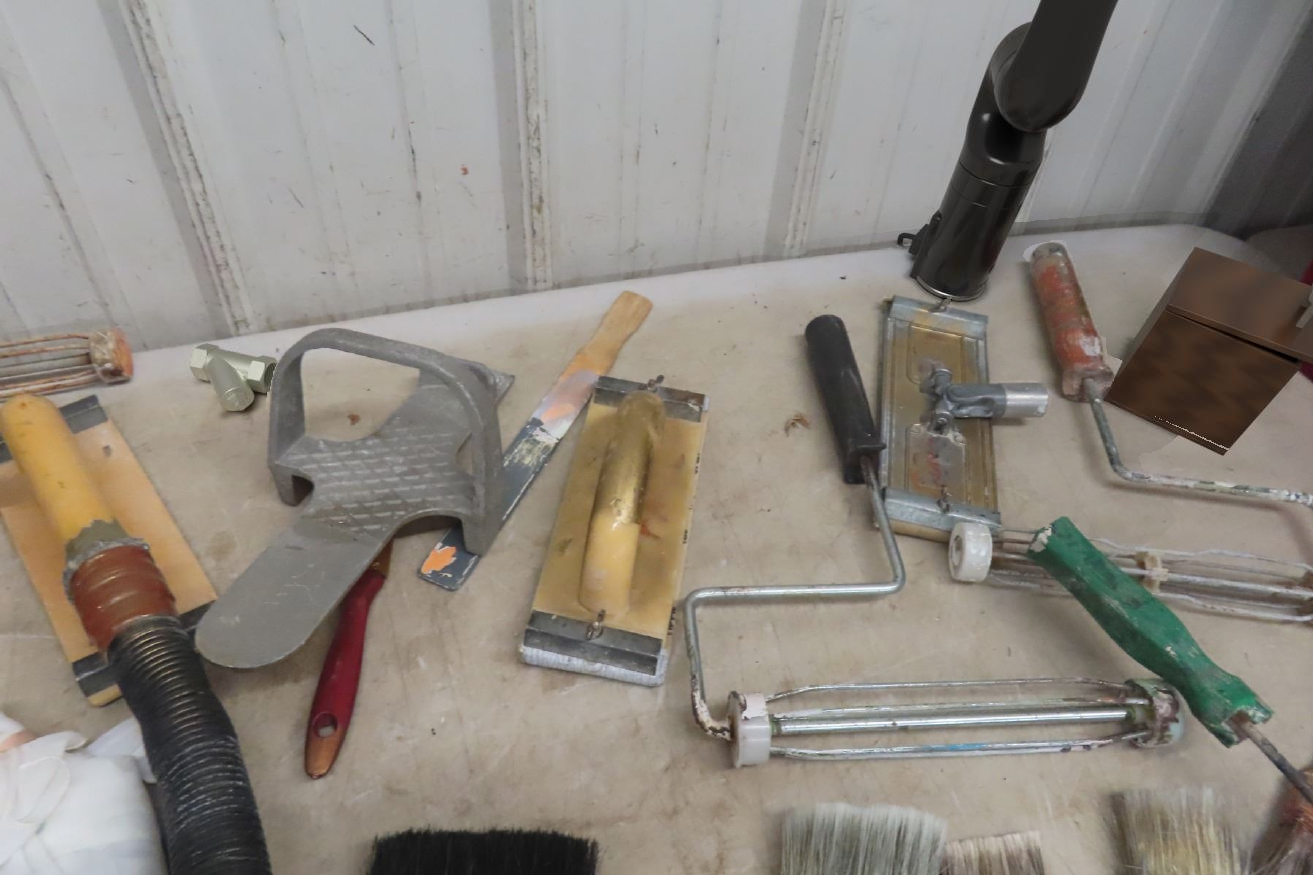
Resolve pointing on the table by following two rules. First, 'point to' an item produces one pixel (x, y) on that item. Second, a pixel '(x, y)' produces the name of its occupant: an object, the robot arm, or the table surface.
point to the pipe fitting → (232, 374)
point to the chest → (1197, 377)
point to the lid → (1246, 303)
